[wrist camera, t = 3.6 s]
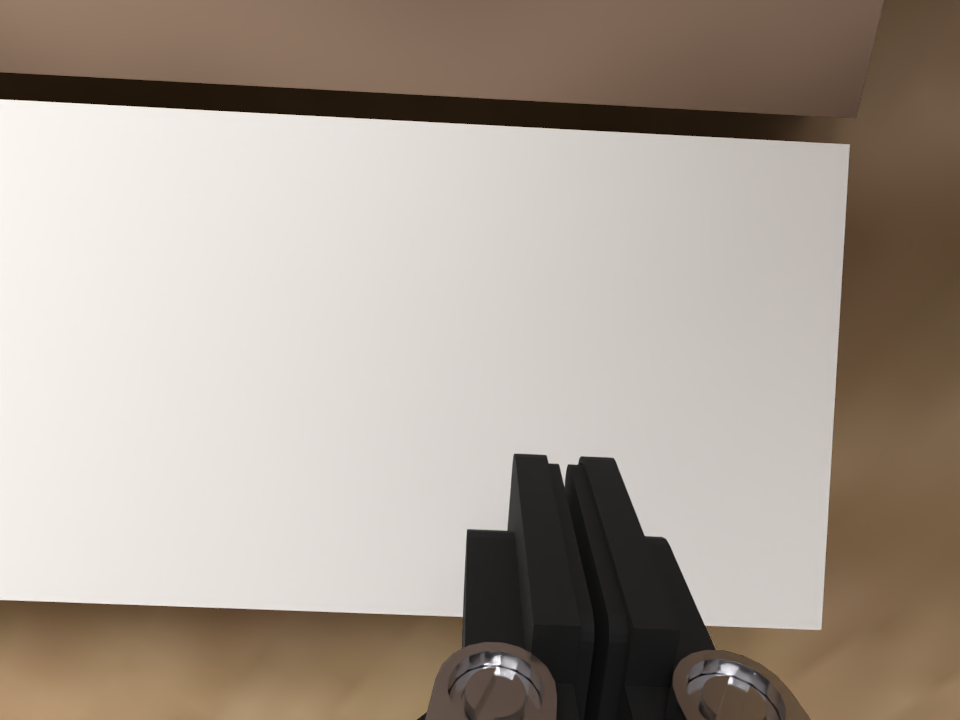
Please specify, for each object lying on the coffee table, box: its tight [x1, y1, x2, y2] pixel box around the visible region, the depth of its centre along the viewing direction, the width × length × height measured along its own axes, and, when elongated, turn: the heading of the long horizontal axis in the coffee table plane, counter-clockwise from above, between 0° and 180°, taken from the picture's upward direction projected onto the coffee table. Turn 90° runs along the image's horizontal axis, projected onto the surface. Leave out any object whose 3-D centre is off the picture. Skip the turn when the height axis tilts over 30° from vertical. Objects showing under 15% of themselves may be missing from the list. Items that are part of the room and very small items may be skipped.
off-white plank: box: [0, 99, 850, 630], centre depth 15 cm, size 10×24×2 cm, turn 86°
